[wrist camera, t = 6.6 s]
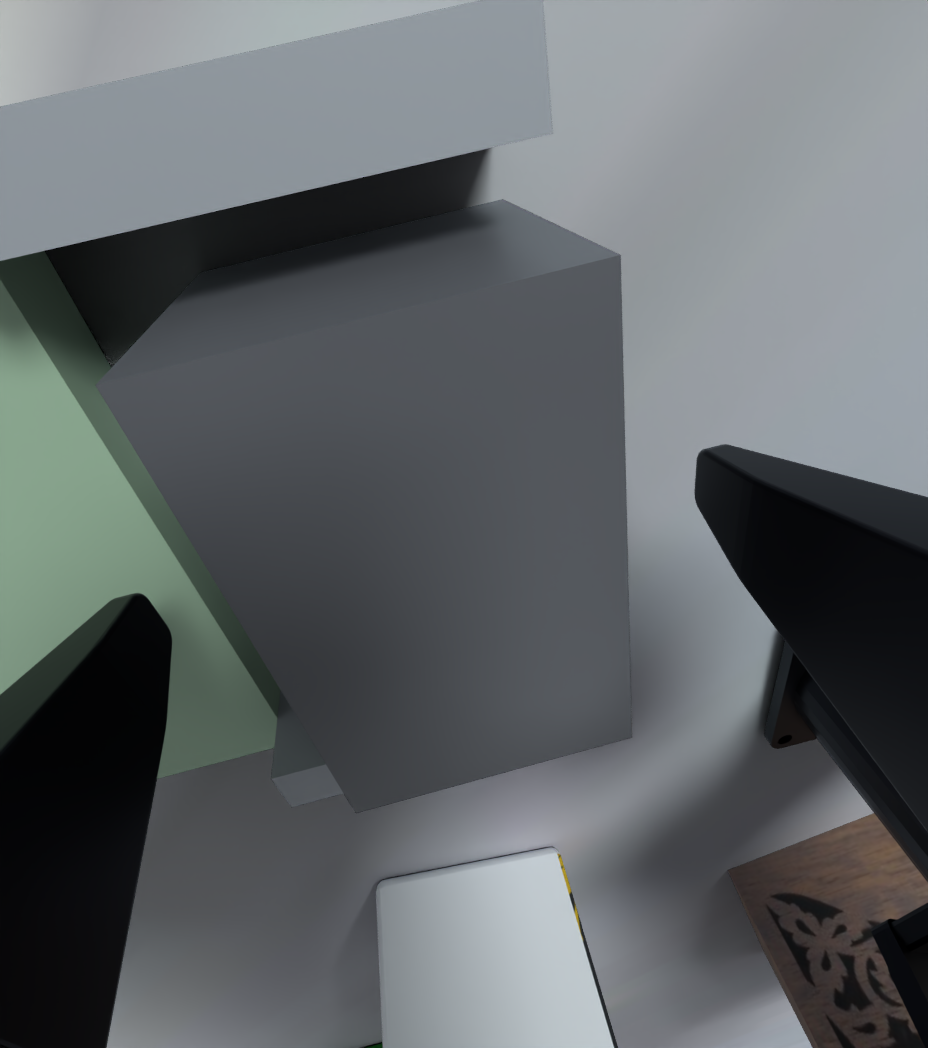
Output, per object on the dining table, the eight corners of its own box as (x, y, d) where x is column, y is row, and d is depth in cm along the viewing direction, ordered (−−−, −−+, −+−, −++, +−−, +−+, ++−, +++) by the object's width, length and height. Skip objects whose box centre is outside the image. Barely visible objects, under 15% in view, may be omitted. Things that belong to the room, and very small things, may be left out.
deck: (556, 630, 15) (596, 726, 13) (-4, 776, 15) (-72, 904, 12) (481, 27, 8) (541, -13, 6) (-633, 275, 7) (-1098, 350, 5)
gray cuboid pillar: (549, 562, 14) (631, 737, 10) (351, 613, 14) (355, 814, 10) (500, 198, 9) (620, 256, 5) (202, 270, 9) (94, 384, 5)
